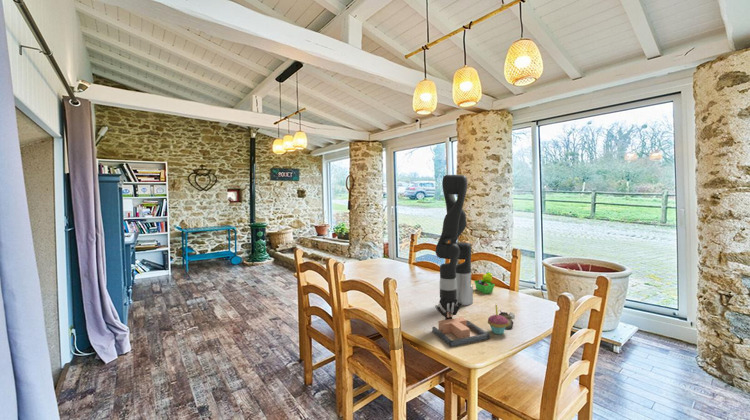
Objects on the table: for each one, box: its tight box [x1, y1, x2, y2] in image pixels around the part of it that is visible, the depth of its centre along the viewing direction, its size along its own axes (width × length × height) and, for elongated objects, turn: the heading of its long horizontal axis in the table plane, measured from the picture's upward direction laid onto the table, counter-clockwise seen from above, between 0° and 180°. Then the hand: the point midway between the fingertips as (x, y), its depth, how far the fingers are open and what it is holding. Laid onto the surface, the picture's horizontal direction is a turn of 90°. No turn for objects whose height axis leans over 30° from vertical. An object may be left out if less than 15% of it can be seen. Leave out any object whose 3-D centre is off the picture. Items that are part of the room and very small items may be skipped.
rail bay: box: [431, 320, 491, 348], centre depth 137 cm, size 18×15×2 cm
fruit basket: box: [473, 271, 496, 294], centre depth 194 cm, size 11×9×11 cm
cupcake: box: [487, 304, 509, 335], centre depth 139 cm, size 9×8×12 cm
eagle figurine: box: [498, 310, 516, 331], centre depth 146 cm, size 8×7×9 cm
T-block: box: [438, 316, 471, 339], centre depth 139 cm, size 12×12×4 cm
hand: (448, 324), depth 146 cm, fingers closed
